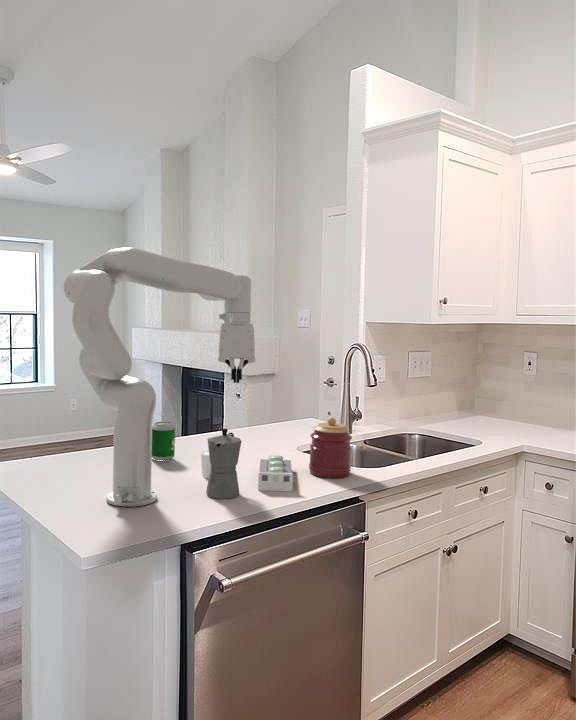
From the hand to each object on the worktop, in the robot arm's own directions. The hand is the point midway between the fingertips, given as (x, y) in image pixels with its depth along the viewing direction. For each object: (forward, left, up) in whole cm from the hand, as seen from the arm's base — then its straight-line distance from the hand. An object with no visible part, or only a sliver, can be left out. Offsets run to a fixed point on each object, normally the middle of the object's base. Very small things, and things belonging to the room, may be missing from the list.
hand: (236, 382), depth 176 cm
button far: (+10, -12, -27) cm, 31 cm away
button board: (+3, -12, -29) cm, 31 cm away
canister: (+11, -29, -29) cm, 43 cm away
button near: (-4, -12, -27) cm, 30 cm away
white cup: (+4, +7, -29) cm, 30 cm away
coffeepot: (-13, +2, -29) cm, 32 cm away
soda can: (+22, +25, -29) cm, 44 cm away
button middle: (+3, -12, -27) cm, 29 cm away
